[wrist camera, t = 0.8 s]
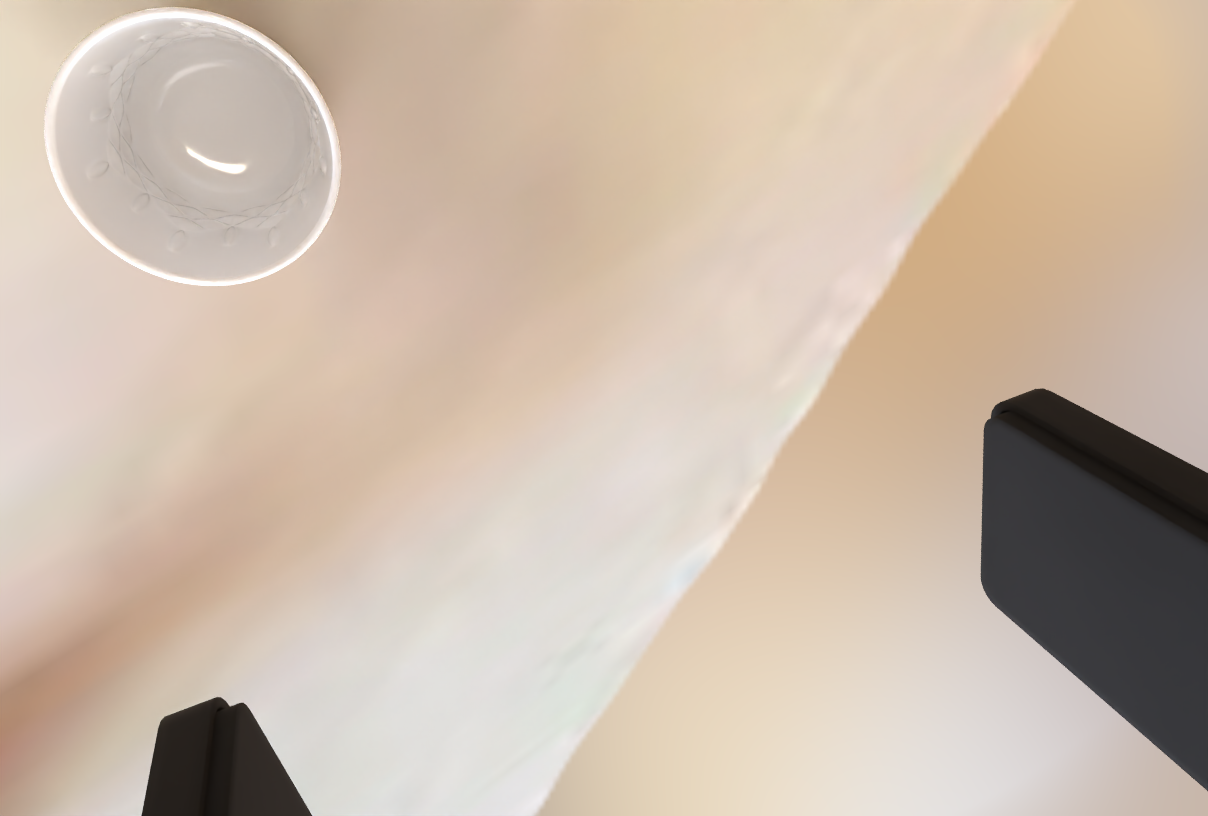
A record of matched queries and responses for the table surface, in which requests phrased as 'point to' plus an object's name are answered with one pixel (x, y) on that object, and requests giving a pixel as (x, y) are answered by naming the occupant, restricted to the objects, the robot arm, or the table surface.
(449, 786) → the table surface
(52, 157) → the white cup
